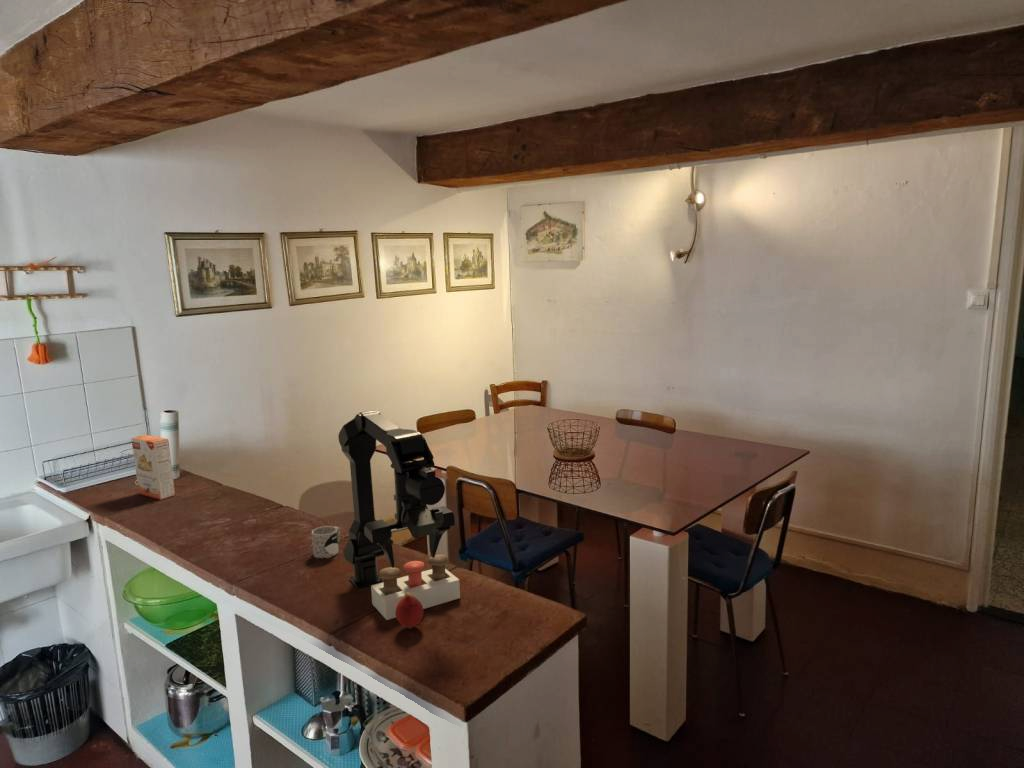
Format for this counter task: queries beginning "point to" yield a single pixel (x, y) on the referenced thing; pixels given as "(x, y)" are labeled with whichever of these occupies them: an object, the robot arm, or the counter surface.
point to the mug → (325, 541)
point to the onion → (409, 611)
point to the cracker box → (153, 466)
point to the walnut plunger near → (389, 579)
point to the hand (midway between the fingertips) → (412, 561)
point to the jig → (416, 593)
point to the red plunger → (414, 573)
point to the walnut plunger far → (438, 566)
